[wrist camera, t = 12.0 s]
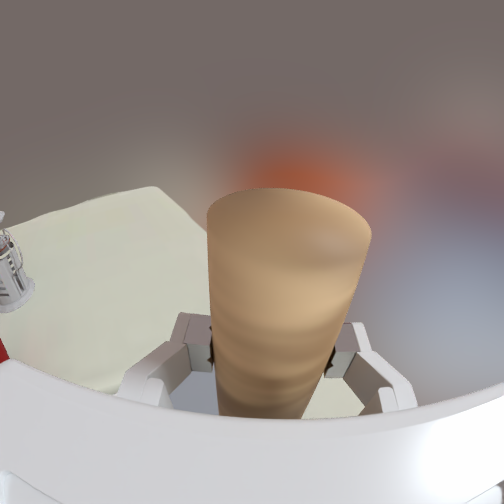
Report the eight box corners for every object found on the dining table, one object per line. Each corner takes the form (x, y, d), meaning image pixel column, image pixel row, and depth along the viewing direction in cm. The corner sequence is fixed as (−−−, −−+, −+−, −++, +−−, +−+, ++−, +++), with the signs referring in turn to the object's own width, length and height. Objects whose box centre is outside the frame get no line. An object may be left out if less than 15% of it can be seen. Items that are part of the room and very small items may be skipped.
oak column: (248, 467, 12) (281, 289, 5) (205, 410, 15) (180, 203, 8) (310, 427, 14) (399, 232, 7) (265, 379, 17) (294, 181, 10)
